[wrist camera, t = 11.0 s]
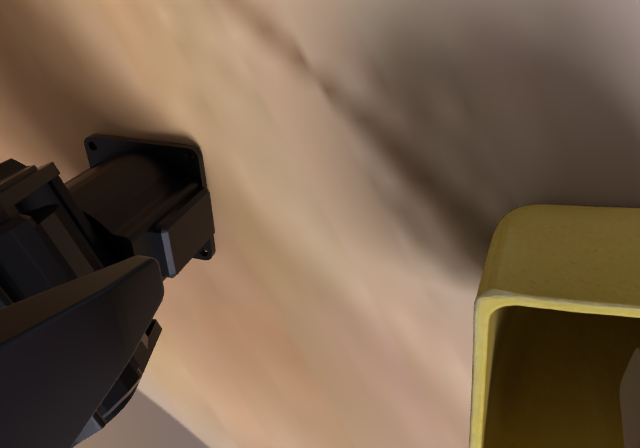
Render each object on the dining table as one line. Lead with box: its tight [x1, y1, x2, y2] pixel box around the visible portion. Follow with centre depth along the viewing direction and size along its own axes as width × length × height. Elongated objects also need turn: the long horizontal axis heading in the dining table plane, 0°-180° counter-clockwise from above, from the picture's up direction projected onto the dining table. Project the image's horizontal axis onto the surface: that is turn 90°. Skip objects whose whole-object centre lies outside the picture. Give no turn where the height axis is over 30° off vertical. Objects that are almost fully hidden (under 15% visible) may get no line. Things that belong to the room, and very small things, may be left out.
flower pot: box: [469, 204, 640, 448], centre depth 18 cm, size 9×9×9 cm
